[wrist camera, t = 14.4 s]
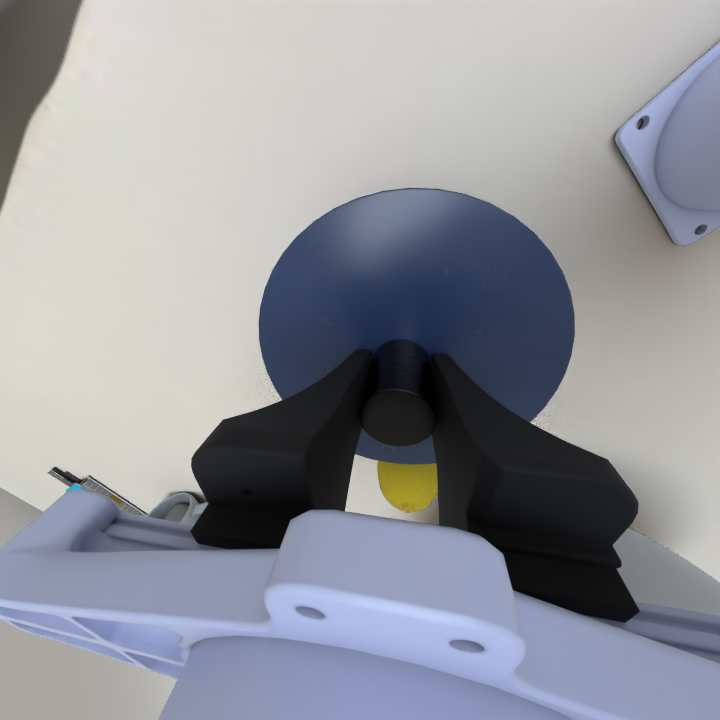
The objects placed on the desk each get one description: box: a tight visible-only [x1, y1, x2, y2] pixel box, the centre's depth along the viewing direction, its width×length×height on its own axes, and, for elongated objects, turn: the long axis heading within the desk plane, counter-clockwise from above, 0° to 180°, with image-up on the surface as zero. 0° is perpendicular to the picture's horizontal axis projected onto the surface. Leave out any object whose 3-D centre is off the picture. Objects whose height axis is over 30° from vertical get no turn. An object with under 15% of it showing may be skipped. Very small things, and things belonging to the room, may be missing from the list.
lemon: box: [378, 461, 438, 513], centre depth 24 cm, size 6×6×8 cm
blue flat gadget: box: [48, 467, 148, 516], centre depth 48 cm, size 20×12×2 cm, turn 35°
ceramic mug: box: [146, 492, 208, 525], centre depth 40 cm, size 11×8×8 cm
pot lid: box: [259, 188, 575, 465], centre depth 11 cm, size 13×13×5 cm
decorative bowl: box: [613, 528, 720, 616], centre depth 27 cm, size 27×27×12 cm
